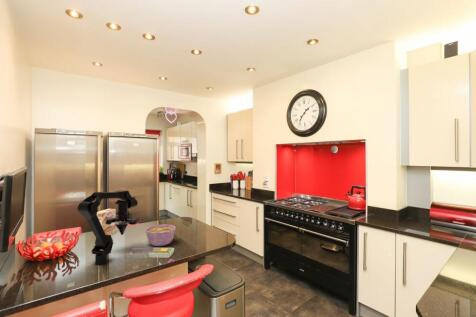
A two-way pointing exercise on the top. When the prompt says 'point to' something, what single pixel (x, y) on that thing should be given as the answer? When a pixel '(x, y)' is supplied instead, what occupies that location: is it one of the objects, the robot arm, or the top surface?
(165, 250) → the yellow block
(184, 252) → the top surface
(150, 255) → the tray
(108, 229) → the coffeecake box
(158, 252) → the oak chip
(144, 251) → the slot board
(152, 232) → the bowl of food
